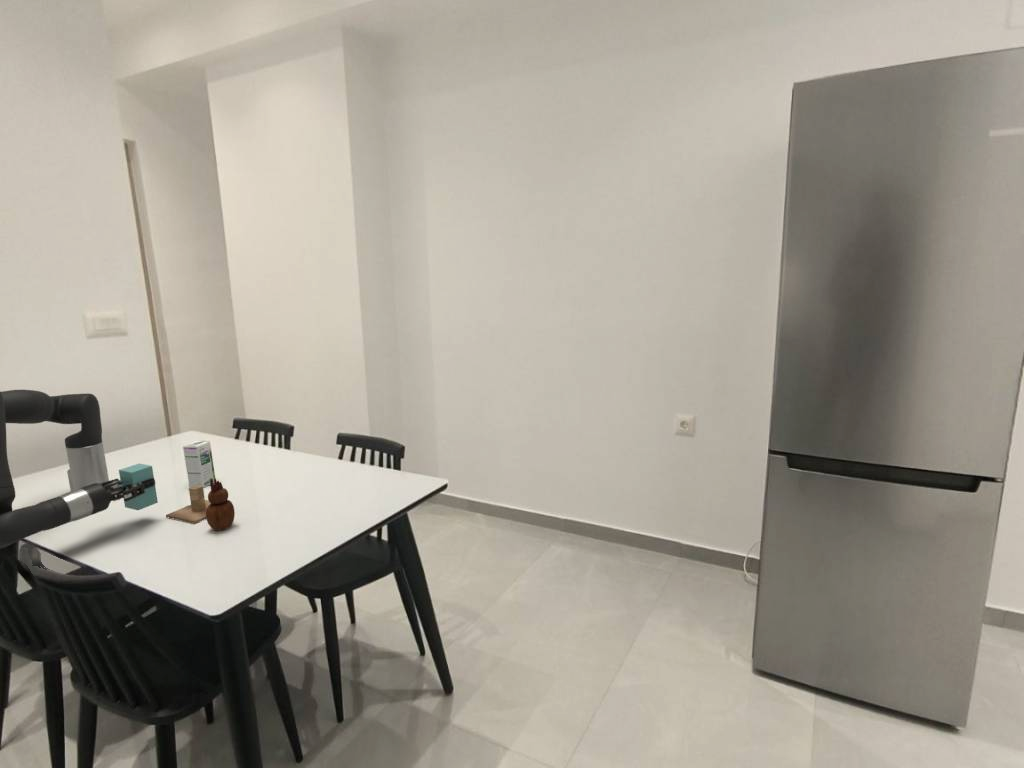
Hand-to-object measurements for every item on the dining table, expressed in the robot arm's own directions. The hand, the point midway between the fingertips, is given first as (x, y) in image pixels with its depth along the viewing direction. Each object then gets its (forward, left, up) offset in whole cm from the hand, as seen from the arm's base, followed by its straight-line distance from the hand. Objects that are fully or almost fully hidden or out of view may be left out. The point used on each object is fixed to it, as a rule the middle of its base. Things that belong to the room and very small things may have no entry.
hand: (146, 479), depth 158 cm
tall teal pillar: (-1, -2, -7) cm, 7 cm away
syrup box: (-2, +26, -12) cm, 29 cm away
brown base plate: (+11, +4, -12) cm, 17 cm away
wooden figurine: (+24, -6, -12) cm, 28 cm away
